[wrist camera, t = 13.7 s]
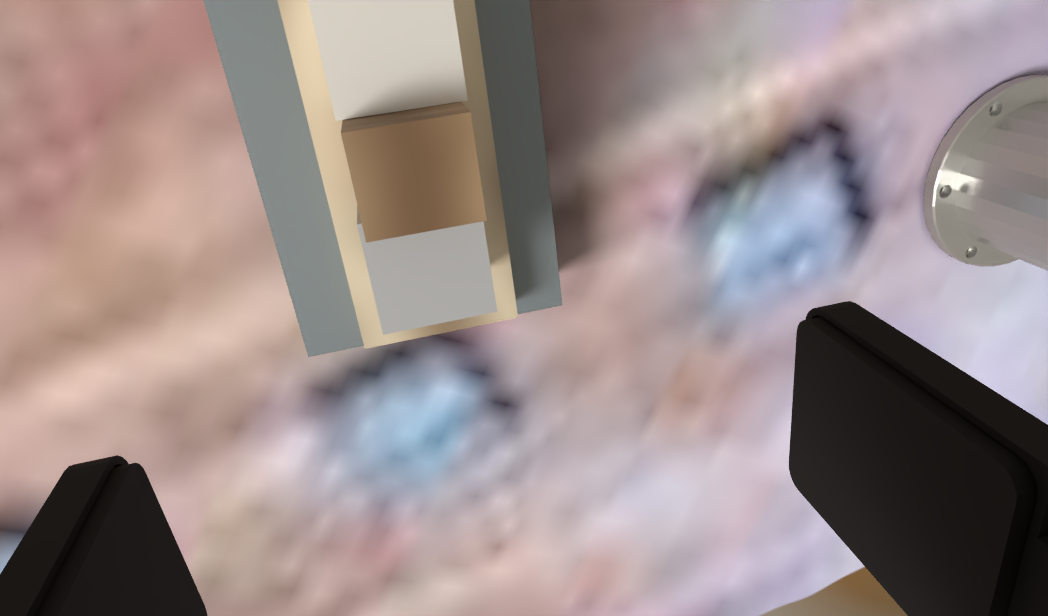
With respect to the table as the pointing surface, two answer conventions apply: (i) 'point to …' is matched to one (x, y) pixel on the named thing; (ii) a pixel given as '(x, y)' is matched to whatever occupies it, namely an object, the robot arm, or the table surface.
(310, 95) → the pallet
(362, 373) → the table surface
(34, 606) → the robot arm
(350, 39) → the crate
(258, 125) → the dock
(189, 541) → the table surface
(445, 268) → the block
